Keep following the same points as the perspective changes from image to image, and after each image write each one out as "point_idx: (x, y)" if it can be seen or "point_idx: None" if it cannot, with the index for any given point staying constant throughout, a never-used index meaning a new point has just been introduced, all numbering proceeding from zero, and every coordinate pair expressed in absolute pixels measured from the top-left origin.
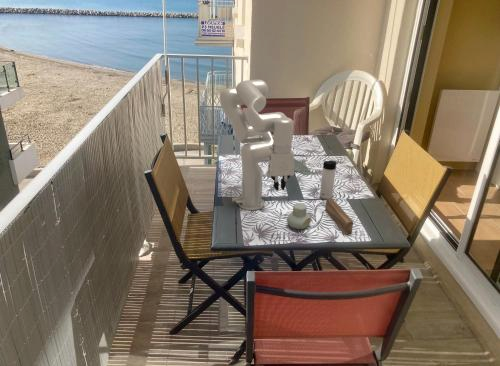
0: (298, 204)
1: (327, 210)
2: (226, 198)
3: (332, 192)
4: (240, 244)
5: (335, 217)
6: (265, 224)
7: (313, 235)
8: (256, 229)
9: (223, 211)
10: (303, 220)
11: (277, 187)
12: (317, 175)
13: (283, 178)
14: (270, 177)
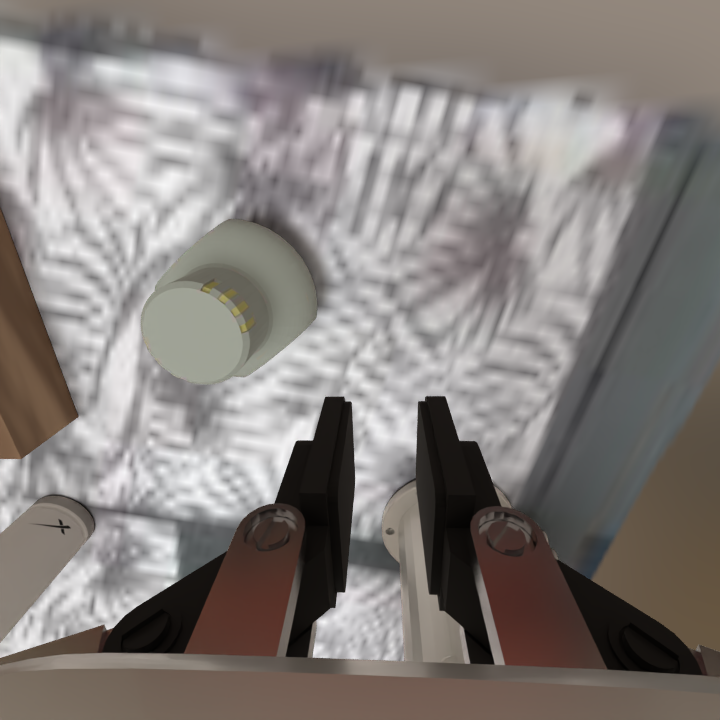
0: (203, 361)
1: (59, 398)
2: None
3: (4, 530)
4: (682, 130)
5: (6, 300)
6: (438, 335)
7: (179, 160)
8: (508, 292)
9: (611, 490)
10: (208, 241)
11: (447, 424)
12: None
13: (306, 594)
14: (706, 661)
